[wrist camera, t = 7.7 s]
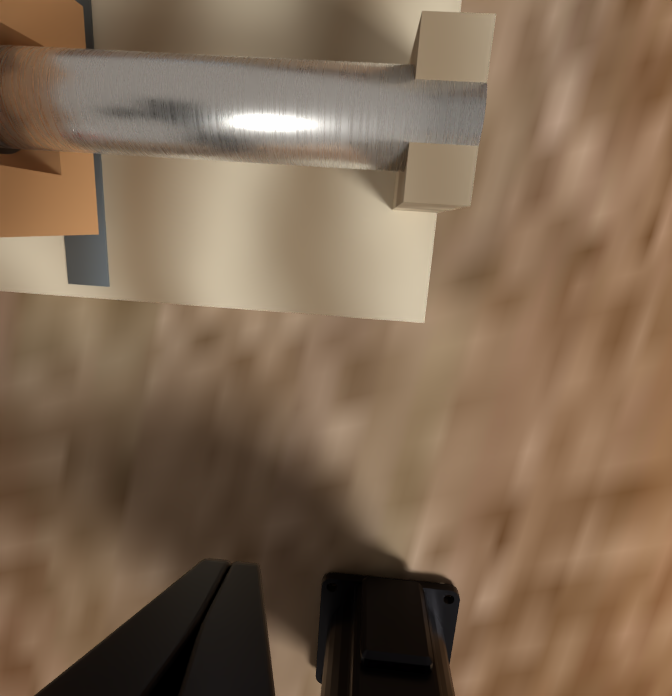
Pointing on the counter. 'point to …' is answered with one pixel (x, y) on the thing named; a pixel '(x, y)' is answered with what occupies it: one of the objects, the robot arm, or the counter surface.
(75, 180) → the slotted orange block
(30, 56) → the pipe
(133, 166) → the stand
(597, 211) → the counter surface
